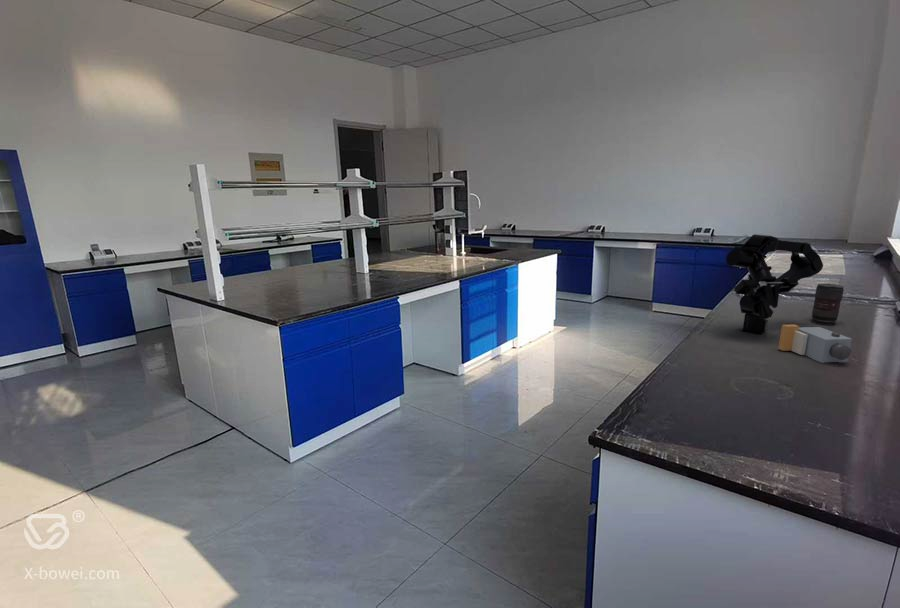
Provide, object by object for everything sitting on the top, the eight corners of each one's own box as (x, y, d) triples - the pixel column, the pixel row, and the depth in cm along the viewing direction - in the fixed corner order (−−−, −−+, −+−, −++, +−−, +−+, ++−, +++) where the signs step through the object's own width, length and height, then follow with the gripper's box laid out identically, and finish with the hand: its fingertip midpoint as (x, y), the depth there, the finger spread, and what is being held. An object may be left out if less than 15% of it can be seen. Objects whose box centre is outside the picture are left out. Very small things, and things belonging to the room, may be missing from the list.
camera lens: (841, 326, 172) (849, 287, 168) (817, 325, 173) (824, 287, 170) (829, 320, 179) (836, 283, 176) (806, 319, 181) (812, 282, 177)
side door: (778, 348, 149) (782, 324, 147) (790, 348, 149) (794, 324, 147) (791, 355, 143) (796, 330, 141) (804, 354, 143) (808, 330, 141)
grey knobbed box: (791, 349, 149) (795, 325, 147) (815, 348, 149) (820, 324, 147) (827, 365, 135) (832, 339, 133) (854, 365, 135) (859, 338, 133)
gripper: (770, 280, 167) (787, 317, 159) (720, 282, 167) (734, 319, 159) (790, 262, 157) (809, 301, 149) (736, 264, 157) (752, 303, 149)
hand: (775, 307), depth 152 cm, fingers closed
